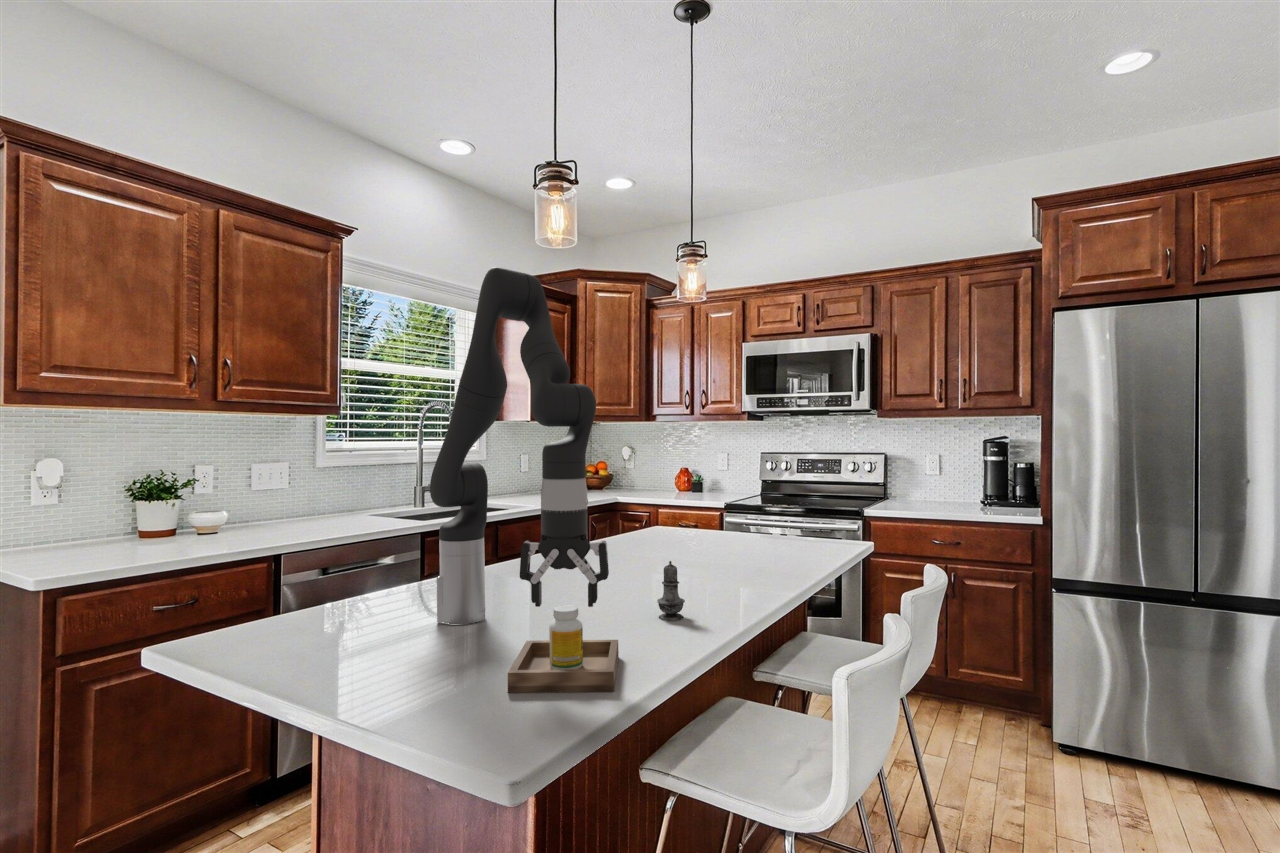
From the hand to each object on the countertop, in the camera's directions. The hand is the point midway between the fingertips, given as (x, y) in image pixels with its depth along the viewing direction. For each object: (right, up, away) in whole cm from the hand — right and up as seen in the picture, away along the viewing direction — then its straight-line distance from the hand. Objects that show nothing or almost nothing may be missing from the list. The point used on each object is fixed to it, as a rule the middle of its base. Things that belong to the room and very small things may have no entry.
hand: (564, 605), depth 111 cm
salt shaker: (+19, -11, +33) cm, 39 cm away
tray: (0, -11, 0) cm, 11 cm away
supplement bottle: (0, -10, 0) cm, 10 cm away
